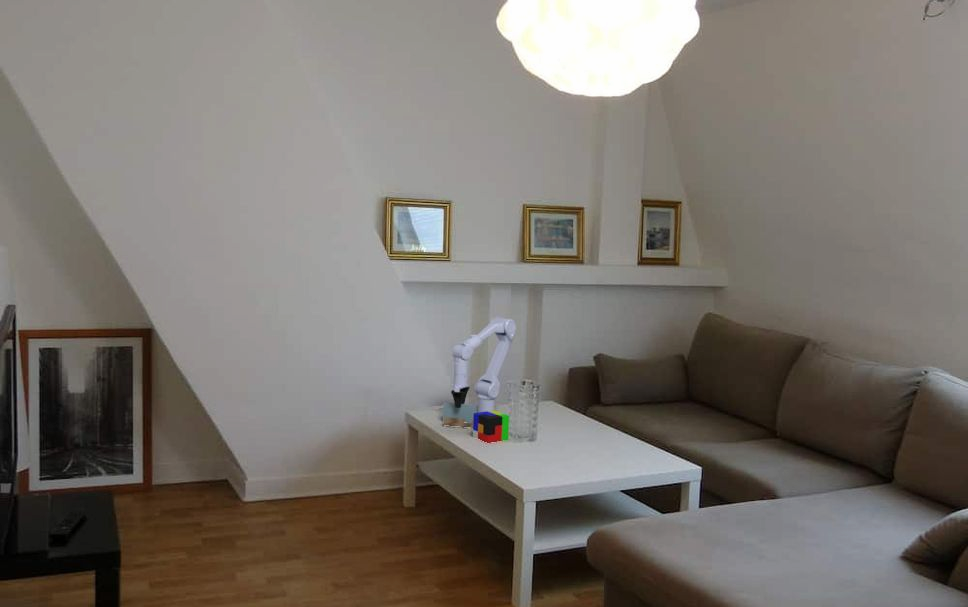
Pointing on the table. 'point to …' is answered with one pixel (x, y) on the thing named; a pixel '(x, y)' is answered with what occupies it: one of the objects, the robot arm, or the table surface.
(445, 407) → the teal slotted plate
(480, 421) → the puzzle toy
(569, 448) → the table surface
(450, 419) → the walnut slotted plate
